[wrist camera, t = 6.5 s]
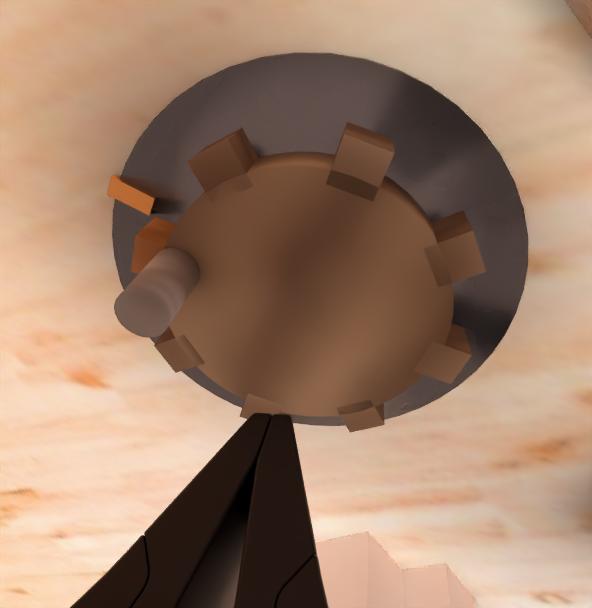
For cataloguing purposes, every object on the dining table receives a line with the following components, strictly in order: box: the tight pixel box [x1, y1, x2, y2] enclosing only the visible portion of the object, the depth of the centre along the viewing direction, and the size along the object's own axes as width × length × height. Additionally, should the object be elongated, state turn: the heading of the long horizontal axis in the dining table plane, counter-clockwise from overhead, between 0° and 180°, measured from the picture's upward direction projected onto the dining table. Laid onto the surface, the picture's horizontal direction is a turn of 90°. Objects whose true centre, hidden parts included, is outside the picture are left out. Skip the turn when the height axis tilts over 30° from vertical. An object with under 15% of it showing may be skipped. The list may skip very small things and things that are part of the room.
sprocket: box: [114, 122, 486, 432], centre depth 18 cm, size 15×15×5 cm
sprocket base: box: [107, 53, 528, 426], centre depth 21 cm, size 19×19×1 cm
